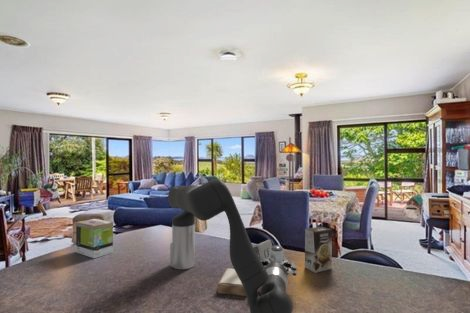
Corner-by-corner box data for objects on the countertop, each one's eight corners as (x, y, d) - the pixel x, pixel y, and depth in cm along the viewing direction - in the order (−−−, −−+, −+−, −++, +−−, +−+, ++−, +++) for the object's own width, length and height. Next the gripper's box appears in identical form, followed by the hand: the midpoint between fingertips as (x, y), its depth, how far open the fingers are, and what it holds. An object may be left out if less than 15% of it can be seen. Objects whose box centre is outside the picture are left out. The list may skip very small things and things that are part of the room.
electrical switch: (264, 268, 112) (262, 245, 112) (253, 266, 115) (252, 243, 115) (275, 261, 119) (274, 239, 120) (265, 259, 122) (264, 238, 123)
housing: (269, 285, 97) (269, 249, 97) (270, 278, 102) (270, 244, 102) (283, 286, 96) (284, 250, 96) (284, 280, 101) (284, 245, 101)
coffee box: (315, 273, 107) (315, 232, 107) (304, 267, 112) (304, 228, 112) (332, 269, 111) (332, 229, 111) (320, 263, 117) (320, 225, 116)
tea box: (113, 252, 130) (113, 221, 130) (93, 259, 121) (93, 226, 121) (95, 246, 138) (95, 217, 138) (75, 252, 129) (75, 221, 129)
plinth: (217, 292, 91) (217, 283, 91) (226, 276, 104) (226, 267, 104) (247, 296, 89) (247, 285, 89) (252, 278, 102) (252, 269, 102)
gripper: (298, 269, 84) (296, 250, 100) (251, 265, 86) (257, 247, 103) (298, 293, 84) (296, 270, 100) (251, 289, 86) (257, 267, 103)
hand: (277, 259), depth 101 cm, fingers closed on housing, 5 cm apart
